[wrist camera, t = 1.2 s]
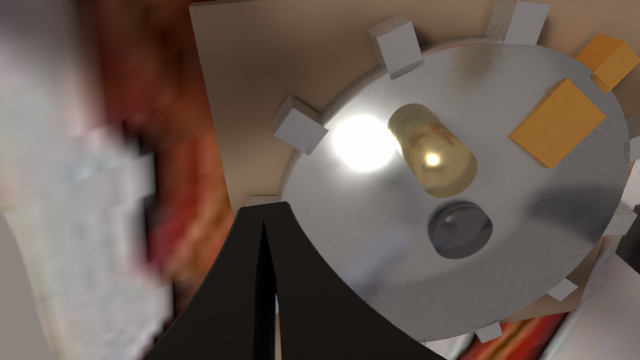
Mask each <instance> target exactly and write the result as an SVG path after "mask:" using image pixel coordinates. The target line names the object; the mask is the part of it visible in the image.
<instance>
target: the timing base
mask: <svg viewBox="0 0 640 360" xmlns="http://www.w3.org/2000/svg"><path fill="white" fill-rule="evenodd" d="M535 1H539V2H543V3H546V4H550V8H549V11H548V13H547V16H546V19H545V21H544V24H543V27H542V30H541V32H540V35H539V38H538V40H537V43H538V44H541V45H543V46H546V47H548V48H550V49H553V50H555V51H558V52H560V53H562V54H564V55H567V56H569V57H571V58H573V59H575V58H576V57H577V55H578V54H579V53H580V52H581V51H582V50H583V49H584V48H585V47H586V46H587V45H588V44H589V43H590V42H591V41H592V40H593V39H594V38H595V37H596V36H597V35H598V34H602V35H605V36H609V37H612V38H615V39H618V40H622V41H625V42H626V43H627V45H628V46H629V47H630V48H631V49H632V51H633V52H634V53H635V54H636V55H637V56H638V58H639V59H640V0H535ZM494 4H495V0H216V1H205V2H194V3H191V4H190V5H189V7H188V8H189V12H190V17H191V22H192V26H193V31H194V36H195V40H196V45H197V50H198V54H199V59H200V64H201V68H202V73H203V78H204V82H205V87H206V91H207V96H208V101H209V105H210V110H211V115H212V119H213V124H214V129H215V133H216V138H217V143H218V147H219V152H220V157H221V161H222V166H223V171H224V175H225V180H226V185H227V189H228V194H229V199H230V203H231V208H232V213H233V217H234V220H235V217H236V214H237V211H238V210H239V209H240V208H241V207H245V196H277V193H278V189H279V186H280V182H281V178H282V174H283V172H284V169H285V167H286V164H287V162H288V160H289V157H290V155H291V153H292V151H293V149H294V147H293V146H291V145H290V144H288V143H286V142H284V141H283V140H281V139H279V138H277V137H276V136H274V135H273V128H272V121H271V120H272V119H273V117H274V116H275V115H276V113H277V112H278V110H279V109H280V107H281V106H282V105H283V103H284V102H285V100H286V99H287V98H288V96H289V95H291V96H293V97H294V98H296V99H297V100H299V101H300V102H302V103H304V104H305V105H307V106H308V107H310V108H311V109H313V110H315V111H316V112H318V113H319V112H320V111H321V110H322V109H323V108H324V107H325V106H326V105H327V104H328V103H329V102H330V101H331V100H332V99H333V98H334V97H335V96H336V95H337V94H338V93H339V92H340V91H341V90H342V89H344V88H345V87H346V86H347V85H349V84H350V83H351V82H353V81H354V80H355V79H356V78H358V77H359V76H360V75H362V74H363V73H365V72H367V71H368V70H370V69H372V68H373V67H375V66H377V65H378V64H379V63H378V60H377V57H376V54H375V51H374V49H373V46H372V43H371V40H370V37H369V34H368V32H367V29H369V28H371V27H373V26H375V25H377V24H379V23H381V22H383V21H385V20H387V19H389V18H391V17H394V16H396V15H398V14H400V15H402V16H404V17H405V18H407V19H409V20H410V21H412V24H413V27H414V31H415V34H416V38H417V41H418V45H419V46H421V45H424V44H427V43H430V42H434V41H437V40H441V39H447V38H453V37H459V36H465V35H485V33H486V30H487V27H488V23H489V20H490V17H491V14H492V10H493V7H494ZM611 90H612V92H613V94H614V95H615V97H616V99H617V101H618V102H619V104H620V106H621V108H622V111H623V114H624V117H625V119H626V118H628V117H631V116H633V115H635V114H637V115H639V116H640V62H639V63H638V64H637V65H636V66H635V67H634V68H633V69H632V70H631V71H630V72H629V73H628V74H627V75H626V76H625V77H624V78H623V79H622V80H621V81H620V82H619V83H618V84H617V85H616V86H615V87H614V88H613V89H611ZM634 163H635V161H632V162H630V164H629V170H628V175H627V180H626V183H627V181H628V178H629V176H630V173H631V170H632V168H633V165H634ZM625 186H626V185H625ZM605 236H606V235H602V236H601V238H600V239H599V240H598V242H597V243H596V244H595V246H594V247H593V248H592V250H591V251H590V252H589V254H588V255H587V256H586V257H585V258H584V259H583V260H582V261H581V262H580V264H579V265H578V266H577V267H576V268H575V269H574V270H573V271H572V272H571V273H570V274H569V275H568V276H569V277H570V278H571V279H572V280H573V281H574V282H575V283H576V284H577V285H578V288H577V289H575V290H574V291H573V292H572V293H570V294H569V295H568V296H567V297H565V298H564V299H563V300H562V301H559V300H557V299H555V298H554V297H552V296H550V295H549V294H547V293H546V294H545V295H543V296H542V297H540V298H539V299H537V300H536V301H534V302H533V303H531V304H530V305H528V306H527V307H525V308H523V309H521V310H520V311H518V312H516V313H515V314H513V315H511V316H509V317H507V318H505V319H503V320H500V321H499V324H501V323H507V322H512V321H518V320H524V319H530V318H535V317H541V316H547V315H552V314H558V313H564V312H570V311H575V310H576V309H577V306H578V304H579V301H580V299H581V296H582V294H583V291H584V289H585V286H586V284H587V281H588V279H589V276H590V274H591V271H592V269H593V266H594V264H595V261H596V259H597V256H598V254H599V251H600V248H601V246H602V243H603V241H604V238H605ZM275 360H281V343H280V325H279V313H276V332H275Z"/></svg>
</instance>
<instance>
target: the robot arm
mask: <svg viewBox="0 0 640 360" xmlns="http://www.w3.org/2000/svg"><path fill="white" fill-rule="evenodd" d="M276 296H277V301H278V309H279V325H280V343H281V360H447V359H445V358H444V357H442V356H440V355H439V354H437V353H435V352H434V351H432V350H430V349H429V348H427V347H425V346H424V345H422V344H421V343H419V342H418V341H416V340H415V339H413V338H412V337H411V336H409V335H408V334H406V333H405V332H403V331H402V330H401V329H399V328H398V327H396V326H395V325H394V324H392V323H391V322H390V321H389V320H387V319H386V318H385V317H384V316H382V315H381V314H380V313H379V312H377V311H376V310H375V309H374V308H372V307H371V306H370V305H369V304H368V303H366V302H365V301H364V300H363V299H362V298H361V297H360V296H359V295H358V294H357V293H355V292H354V291H353V290H352V289H351V288H350V287H349V286H348V285H347V284H346V283H345V282H344V281H343V280H342V279H341V278H340V277H339V276H338V274H337V273H336V272H335V271H334V270H333V269H332V268H331V267H330V265H329V264H328V263H327V262H326V261H325V259H324V258H323V257H322V256H321V255H320V253H319V252H318V251H317V249H316V248H315V247H314V245H313V244H312V242H311V241H310V240H309V238H308V237H307V235H306V234H305V232H304V231H303V229H302V228H301V226H300V224H299V223H298V221H297V219H296V217H295V215H294V213H293V211H292V208H291V205H290V204H289V203H288V202H286V201H283V202H275V203H268V204H261V205H253V206H246V207H241V208H240V209H239V210H238V211H237V214H236V217H235V220H234V222H233V225H232V227H231V230H230V232H229V234H228V236H227V239H226V241H225V243H224V245H223V247H222V249H221V250H220V252H219V254H218V256H217V258H216V260H215V262H214V264H213V265H212V267H211V269H210V270H209V272H208V274H207V275H206V277H205V279H204V280H203V282H202V284H201V285H200V287H199V289H198V290H197V292H196V293H195V295H194V296H193V298H192V299H191V300H190V302H189V303H188V305H187V306H186V307H185V309H184V310H183V311H182V313H181V314H180V316H179V317H178V318H177V319H176V321H175V322H174V323H173V324H172V326H171V327H170V328H169V329H168V330H167V332H166V333H165V334H164V335H163V337H162V338H161V339H160V340H159V341H158V343H157V344H156V345H155V346H154V347H153V348H152V349H151V351H150V352H149V353H148V354H147V355H146V356H145V357H144V358H143V359H142V360H275V332H276Z"/></svg>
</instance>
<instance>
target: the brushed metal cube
mask: <svg viewBox="0 0 640 360" xmlns="http://www.w3.org/2000/svg"><path fill="white" fill-rule="evenodd" d="M633 212H634V213H636V214H637V217H636V219H635V220H634V222H633V224H632V225H631V227H630V228H629V230H628V232H627V233H626V235H623V236H622V238H621V240H620V243H619V245H618V247H617V250H616V252H615V253H616V254H617V255H618V256H619V257H621V258H622V259H623V260H624V261H625V262H626V263H627V264H628V265H630V266H631V267H632V268H633V269H634V270H635V271H636V272H637V273H639V274H640V205H635V207H634V210H633Z"/></svg>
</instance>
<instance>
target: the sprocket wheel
mask: <svg viewBox="0 0 640 360" xmlns="http://www.w3.org/2000/svg"><path fill="white" fill-rule="evenodd" d="M549 8H550V4H546V3H543V2H539V1H535V0H495V4H494V7H493V10H492V14H491V17H490V20H489V23H488V27H487V30H486V33H485V35H465V36H459V37H453V38H447V39H441V40H437V41H434V42H430V43H427V44H424V45H421V46H419V45H418V41H417V38H416V34H415V31H414V27H413V24H412V21H410V20H409V19H407V18H405V17H404V16H402V15H400V14H398V15H396V16H394V17H391V18H389V19H387V20H385V21H383V22H381V23H379V24H377V25H375V26H373V27H371V28H369V29H367V32H368V34H369V37H370V40H371V43H372V46H373V49H374V51H375V54H376V57H377V60H378V63H379V64H378V65H377V66H375V67H373V68H372V69H370V70H368V71H367V72H365V73H363V74H362V75H360V76H359V77H358V78H356V79H355V80H354V81H353V82H351V83H350V84H349V85H347V86H346V87H345V88H344V89H342V90H341V91H340V92H339V93H338V94H337V95H336V96H335V97H334V98H333V99H332V100H331V101H330V102H329V103H328V104H327V105H326V106H325V107H324V108H323V109H322V110H321V111H320V112H319V113H318V112H316V111H315V110H313V109H311V108H310V107H308V106H307V105H305V104H304V103H302V102H300V101H299V100H297V99H296V98H294V97H293V96H291V95H289V96H288V98H287V99H286V100H285V102H284V103H283V105H282V106H281V107H280V109H279V110H278V112H277V113H276V115H275V116H274V117H273V119H272V120H271V121H272V128H273V135H274V136H276V137H277V138H279V139H281V140H283V141H284V142H286V143H288V144H290V145H291V146H293V147H294V149H293V151H292V153H291V155H290V157H289V160H288V162H287V164H286V167H285V169H284V172H283V174H282V178H281V182H280V186H279V189H278V193H277V196H245V207H246V206H253V205H261V204H268V203H275V202H283V201H286V202H288V203H289V204H290V205H291V208H292V211H293V213H294V215H295V217H296V219H297V221H298V223H299V224H300V226H301V228H302V229H303V231H304V232H305V234H306V235H307V237H308V238H309V240H310V241H311V242H312V244H313V245H314V247H315V248H316V249H317V251H318V252H319V253H320V255H321V256H322V257H323V258H324V259H325V261H326V262H327V263H328V264H329V265H330V267H331V268H332V269H333V270H334V271H335V272H336V273H337V274H338V276H339V277H340V278H341V279H342V280H343V281H344V282H345V283H346V284H347V285H348V286H349V287H350V288H351V289H352V290H353V291H354V292H355V293H357V294H358V295H359V296H360V297H361V298H362V299H363V300H364V301H365V302H366V303H368V304H369V305H370V306H371V307H372V308H374V309H375V310H376V311H377V312H379V313H380V314H381V315H382V316H384V317H385V318H386V319H387V320H389V321H390V322H391V323H392V324H394V325H395V326H396V327H398V328H399V329H401V330H402V331H403V332H405V333H406V334H408V335H409V336H411V337H412V338H413V339H415V340H416V341H418V342H419V343H421V344H422V345H424V346H425V344H426V342H429V341H436V340H442V339H447V338H451V337H456V336H460V335H463V334H466V333H470V332H473V331H475V332H476V334H477V336H478V337H479V339H480V341H481V343H484V342H487V341H489V340H492V339H494V338H497V337H499V336H502V331H501V328H500V325H499V321H500V320H503V319H505V318H507V317H509V316H511V315H513V314H515V313H516V312H518V311H520V310H521V309H523V308H525V307H527V306H528V305H530V304H531V303H533V302H534V301H536V300H537V299H539V298H540V297H542V296H543V295H545V294H546V293H547V294H549V295H550V296H552V297H554V298H555V299H557V300H559V301H562V300H563V299H564V298H565V297H567V296H568V295H569V294H570V293H572V292H573V291H574V290H575V289H577V288H578V285H577V284H576V283H575V282H574V281H573V280H572V279H571V278H570V277H569V276H568V275H569V274H570V273H571V272H572V271H573V270H574V269H575V268H576V267H577V266H578V265H579V264H580V262H581V261H582V260H583V259H584V258H585V257H586V256H587V255H588V254H589V252H590V251H591V250H592V248H593V247H594V246H595V244H596V243H597V242H598V240H599V239H600V238H601V236H602V235H626V233H627V232H628V230H629V228H630V227H631V225H632V224H633V222H634V220H635V219H636V217H637V214H636V213H634V212H633V211H632V210H630V209H629V208H628V207H626V206H625V205H624V204H622V203H621V202H620V200H621V197H622V194H623V191H624V188H625V185H626V180H627V175H628V170H629V164H630V162H632V161H635V160H637V159H639V158H640V116H639V115H637V114H635V115H633V116H631V117H628V118H626V119H625V117H624V114H623V111H622V108H621V106H620V104H619V102H618V101H617V99H616V97H615V95H614V94H613V92H612V90H611V89H613V88H614V87H615V86H616V85H617V84H618V83H619V82H620V81H621V80H622V79H623V78H624V77H625V76H626V75H627V74H628V73H629V72H630V71H631V70H632V69H633V68H634V67H635V66H636V65H637V64H638V63H639V62H640V59H639V58H638V56H637V55H636V54H635V53H634V52H633V51H632V49H631V48H630V47H629V46H628V45H627V43H626V42H625V41H622V40H618V39H615V38H612V37H609V36H605V35H602V34H598V35H597V36H596V37H595V38H594V39H593V40H592V41H591V42H590V43H589V44H588V45H587V46H586V47H585V48H584V49H583V50H582V51H581V52H580V53H579V54H578V55H577V57H576V58H575V59H573V58H571V57H569V56H567V55H564V54H562V53H560V52H558V51H555V50H553V49H550V48H548V47H546V46H543V45H541V44H538V43H537V40H538V38H539V35H540V32H541V30H542V27H543V24H544V21H545V19H546V16H547V13H548V11H549ZM276 313H279V309H278V301H277V296H276Z"/></svg>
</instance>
